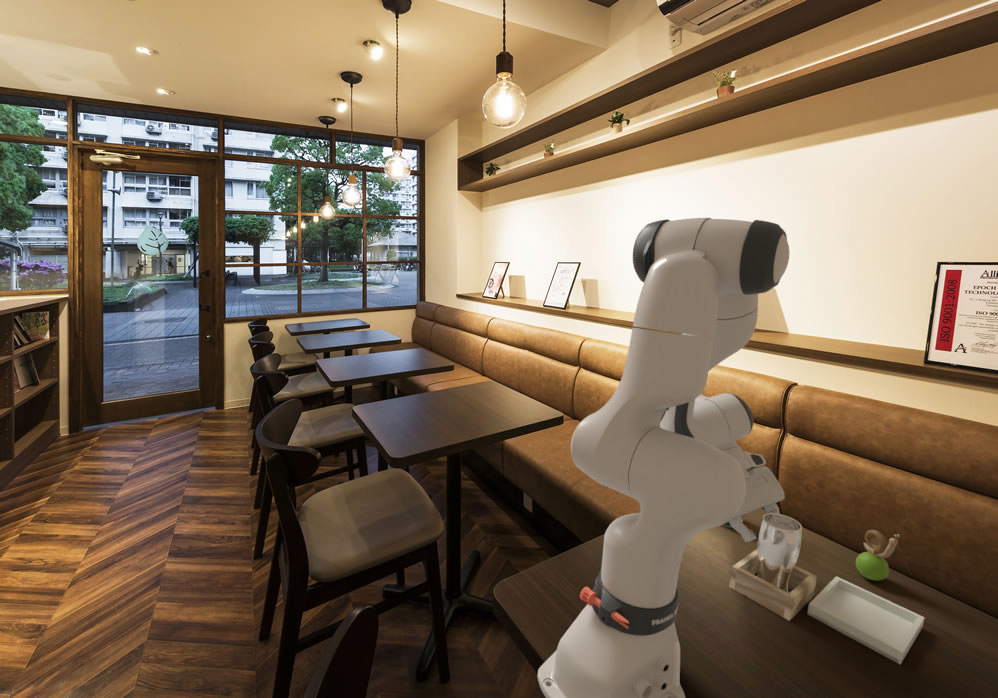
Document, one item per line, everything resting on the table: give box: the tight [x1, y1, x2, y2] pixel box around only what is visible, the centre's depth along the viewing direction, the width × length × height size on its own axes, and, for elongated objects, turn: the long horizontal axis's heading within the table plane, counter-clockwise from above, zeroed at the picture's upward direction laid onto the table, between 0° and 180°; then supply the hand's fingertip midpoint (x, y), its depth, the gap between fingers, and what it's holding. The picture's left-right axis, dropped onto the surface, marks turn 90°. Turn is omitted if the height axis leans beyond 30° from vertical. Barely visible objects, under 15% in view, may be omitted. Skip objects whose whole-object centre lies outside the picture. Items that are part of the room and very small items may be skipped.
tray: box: [806, 576, 925, 665], centre depth 86 cm, size 14×14×2 cm
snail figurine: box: [855, 529, 901, 582], centre depth 97 cm, size 5×6×12 cm
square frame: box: [729, 547, 818, 622], centre depth 93 cm, size 11×11×4 cm
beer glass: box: [756, 512, 803, 593], centre depth 92 cm, size 7×7×15 cm
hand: (765, 534), depth 93 cm, fingers open, 8 cm apart
